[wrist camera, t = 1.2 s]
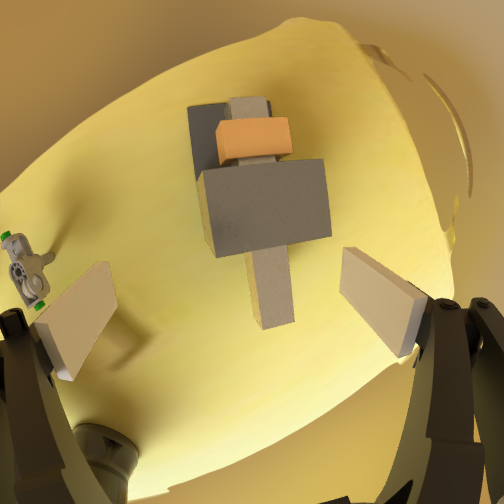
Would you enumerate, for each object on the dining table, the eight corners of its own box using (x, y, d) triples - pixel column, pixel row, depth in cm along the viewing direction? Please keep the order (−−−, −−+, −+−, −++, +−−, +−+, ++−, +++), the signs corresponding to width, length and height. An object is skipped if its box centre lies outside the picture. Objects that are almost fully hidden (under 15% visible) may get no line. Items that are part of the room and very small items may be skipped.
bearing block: (286, 225, 40) (331, 236, 27) (205, 239, 37) (215, 258, 25) (279, 171, 38) (323, 158, 26) (196, 182, 35) (202, 170, 23)
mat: (280, 178, 38) (281, 178, 38) (197, 189, 36) (197, 189, 35) (268, 101, 36) (269, 101, 35) (187, 108, 33) (187, 107, 33)
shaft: (283, 309, 35) (294, 321, 31) (253, 316, 34) (262, 330, 30) (256, 107, 30) (265, 96, 26) (223, 109, 29) (229, 97, 25)
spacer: (278, 159, 31) (293, 152, 26) (220, 165, 29) (225, 159, 25) (273, 127, 30) (287, 116, 26) (215, 131, 28) (220, 120, 24)
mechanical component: (43, 222, 31) (7, 228, 21) (73, 282, 33) (44, 305, 24) (31, 232, 30) (-6, 241, 21) (60, 291, 33) (30, 315, 23)
